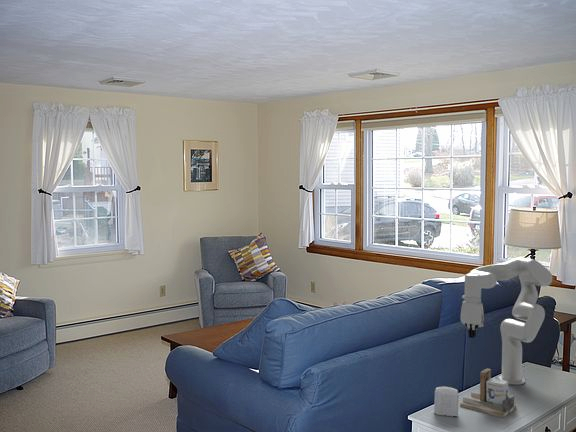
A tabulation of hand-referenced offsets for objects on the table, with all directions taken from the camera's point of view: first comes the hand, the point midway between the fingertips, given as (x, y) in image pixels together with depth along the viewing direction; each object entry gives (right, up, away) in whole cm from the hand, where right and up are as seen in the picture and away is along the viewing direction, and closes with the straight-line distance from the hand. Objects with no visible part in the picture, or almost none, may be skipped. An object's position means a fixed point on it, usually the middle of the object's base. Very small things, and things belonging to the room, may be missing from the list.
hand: (472, 337), depth 292 cm
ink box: (+5, -27, -19) cm, 34 cm away
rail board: (+2, -28, -16) cm, 33 cm away
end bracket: (+1, -27, -15) cm, 31 cm away
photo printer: (-19, -30, -24) cm, 42 cm away
